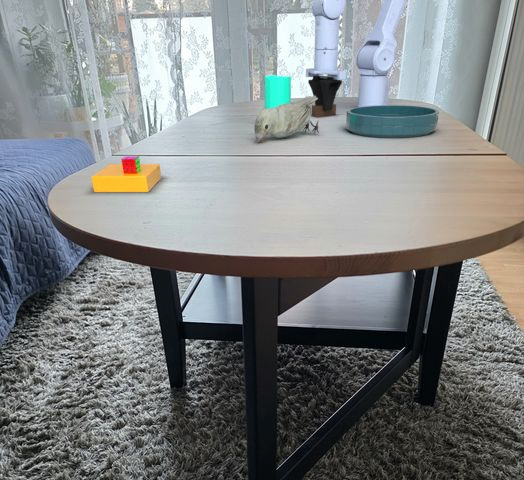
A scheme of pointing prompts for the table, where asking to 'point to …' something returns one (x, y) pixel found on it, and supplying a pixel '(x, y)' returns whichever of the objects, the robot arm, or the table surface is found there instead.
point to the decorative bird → (285, 119)
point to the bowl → (392, 121)
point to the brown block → (322, 111)
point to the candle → (277, 90)
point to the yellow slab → (127, 176)
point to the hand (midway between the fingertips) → (323, 109)
